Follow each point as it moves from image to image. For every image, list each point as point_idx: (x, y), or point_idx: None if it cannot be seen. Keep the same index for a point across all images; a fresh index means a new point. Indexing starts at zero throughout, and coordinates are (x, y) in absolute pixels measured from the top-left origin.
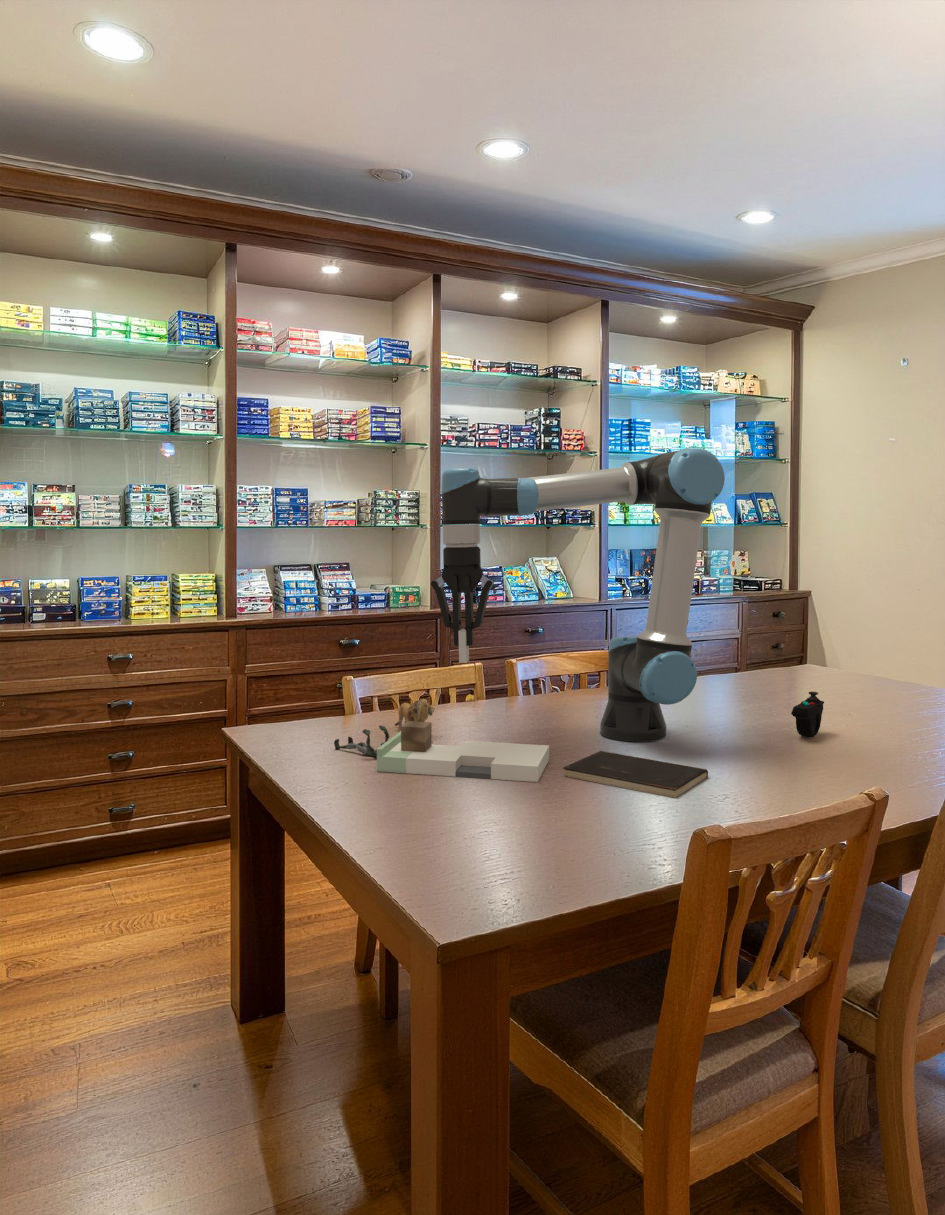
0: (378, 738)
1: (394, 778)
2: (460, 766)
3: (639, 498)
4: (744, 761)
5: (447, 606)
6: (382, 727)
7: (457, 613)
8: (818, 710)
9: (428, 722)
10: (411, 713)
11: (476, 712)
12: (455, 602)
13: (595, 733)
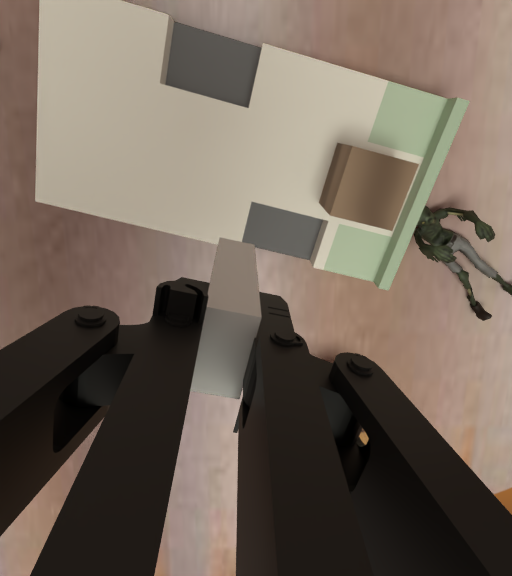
0: (413, 363)
1: (406, 39)
2: (249, 97)
3: None
4: None
5: (401, 564)
6: (447, 250)
7: (277, 420)
8: None
9: (338, 213)
10: None
11: (220, 522)
12: (321, 553)
13: None
